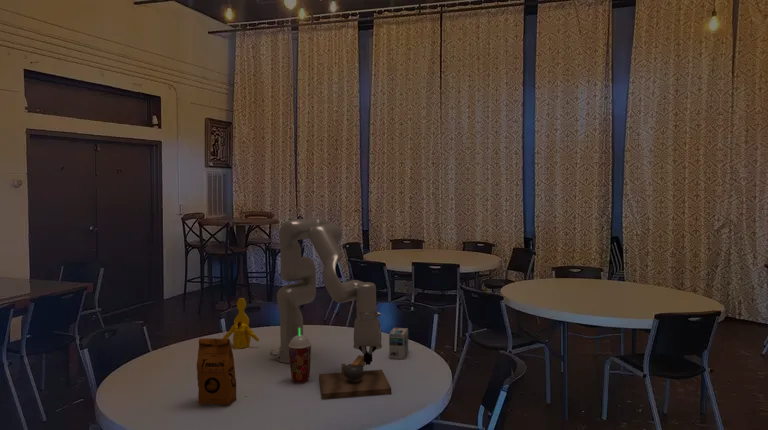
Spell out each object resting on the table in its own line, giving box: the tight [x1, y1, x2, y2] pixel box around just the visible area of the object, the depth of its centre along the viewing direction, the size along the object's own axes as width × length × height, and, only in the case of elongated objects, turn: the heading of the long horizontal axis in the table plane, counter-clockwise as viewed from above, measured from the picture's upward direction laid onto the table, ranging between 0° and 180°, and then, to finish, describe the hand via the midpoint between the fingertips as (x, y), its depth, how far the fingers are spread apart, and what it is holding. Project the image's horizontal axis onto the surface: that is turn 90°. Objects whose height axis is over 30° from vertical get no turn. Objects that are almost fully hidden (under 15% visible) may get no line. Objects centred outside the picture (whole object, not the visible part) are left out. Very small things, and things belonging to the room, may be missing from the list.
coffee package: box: [196, 337, 237, 406], centre depth 185 cm, size 10×12×22 cm
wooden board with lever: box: [318, 363, 392, 400], centre depth 199 cm, size 24×21×5 cm
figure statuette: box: [221, 297, 260, 350], centre depth 250 cm, size 18×8×22 cm, turn 89°
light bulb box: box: [388, 327, 409, 360], centre depth 234 cm, size 11×7×11 cm, turn 168°
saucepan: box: [344, 354, 366, 379], centre depth 202 cm, size 16×7×4 cm, turn 168°
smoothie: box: [288, 328, 312, 384], centre depth 205 cm, size 8×8×20 cm
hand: (368, 363), depth 206 cm, fingers closed
